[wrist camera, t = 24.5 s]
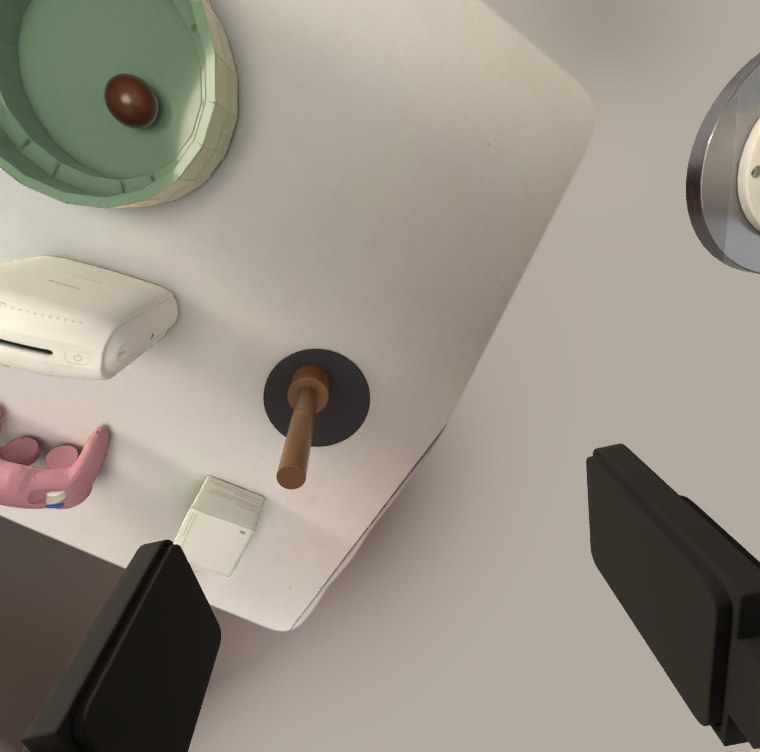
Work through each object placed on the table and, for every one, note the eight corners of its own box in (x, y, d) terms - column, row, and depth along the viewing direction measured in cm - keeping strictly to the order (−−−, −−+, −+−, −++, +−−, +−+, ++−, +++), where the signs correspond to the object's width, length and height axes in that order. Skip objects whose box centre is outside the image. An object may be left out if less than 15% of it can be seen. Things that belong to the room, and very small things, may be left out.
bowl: (195, -90, 27) (155, -164, 22) (267, 181, 33) (250, 178, 27) (-51, -36, 27) (-154, -96, 22) (62, 224, 33) (4, 230, 27)
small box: (207, 473, 41) (189, 507, 37) (266, 495, 43) (256, 531, 38) (185, 519, 43) (165, 558, 38) (243, 540, 44) (230, 579, 40)
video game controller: (2, 428, 40) (-55, 501, 35) (-16, 397, 37) (-81, 473, 32) (120, 452, 42) (81, 525, 37) (113, 424, 38) (69, 500, 34)
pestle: (328, 363, 38) (317, 450, 25) (331, 398, 39) (322, 499, 26) (289, 365, 38) (257, 454, 25) (293, 401, 39) (266, 503, 26)
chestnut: (153, 83, 30) (131, 123, 31) (109, 53, 28) (86, 97, 28) (175, 105, 29) (151, 146, 30) (131, 76, 26) (107, 121, 27)
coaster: (357, 339, 38) (357, 340, 37) (378, 433, 41) (378, 435, 40) (250, 361, 38) (249, 362, 37) (280, 453, 41) (279, 455, 41)
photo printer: (185, 289, 35) (105, 332, 24) (175, 340, 37) (96, 404, 25) (42, 246, 33) (-119, 271, 22) (38, 301, 35) (-115, 352, 23)
